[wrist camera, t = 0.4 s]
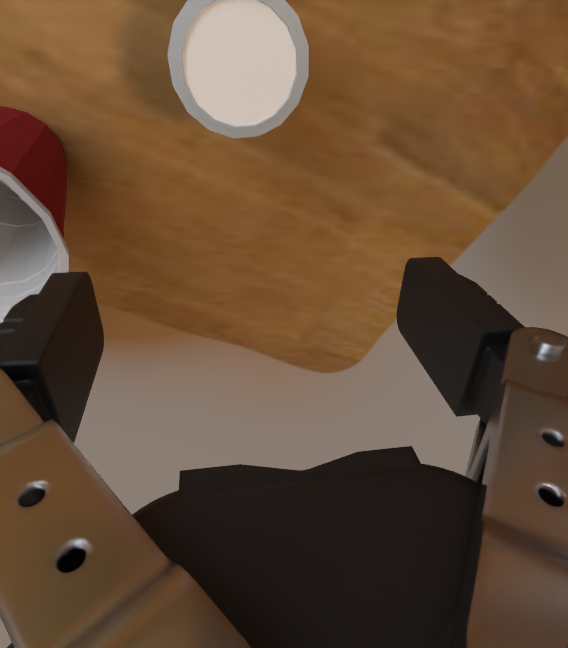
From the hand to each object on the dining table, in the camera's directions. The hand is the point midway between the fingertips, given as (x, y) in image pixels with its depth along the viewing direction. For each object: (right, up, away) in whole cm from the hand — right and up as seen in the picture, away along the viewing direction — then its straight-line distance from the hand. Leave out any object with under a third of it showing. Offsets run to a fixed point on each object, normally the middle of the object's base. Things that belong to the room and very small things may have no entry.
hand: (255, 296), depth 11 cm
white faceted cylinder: (-3, +16, +15) cm, 23 cm away
